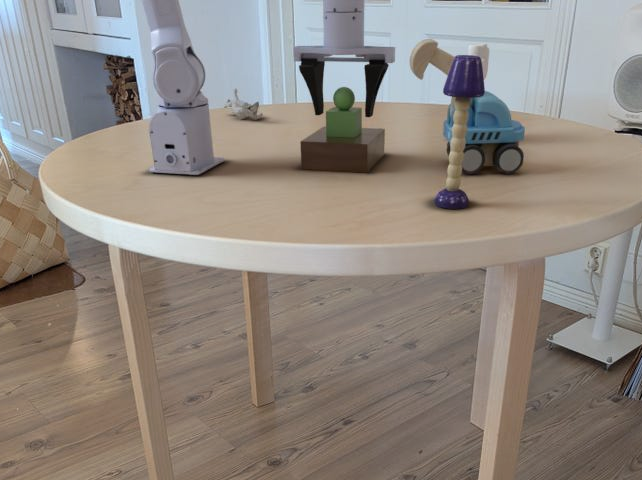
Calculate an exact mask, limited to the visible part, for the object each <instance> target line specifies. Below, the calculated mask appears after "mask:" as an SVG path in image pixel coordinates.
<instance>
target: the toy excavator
mask: <svg viewBox="0 0 642 480" xmlns="http://www.w3.org/2000/svg"><path fill="white" fill-rule="evenodd" d="M438 46H439V42H438V41H436V40H434V39H433V38H425V39H422V40H421V41H418V43H417V44H416V45H415V46H414V47H413V48H412V50H411V53H410V56H409V66H410V70H411V72H412V74H413V75H414V76H415V77H416V78H417V79H418V80H421V81H422V80H423V79H424V76H425V75H424V74H425V73H426V70H427V68H428V66H429V64H431V65H432V66H434V67H435V68H436V69H437V70H439V71H441V73H443V74H445V75H446V76H448V73H449V70H450V68H451V65H452V62H453V59H454V57H455V56H454V55H452V54H450V53H448V52H447V51H445V50H443V49H441V48H439V47H438ZM450 99H451V100H450V103H449V105H448V107H447V115H446V120H444V121H443V128H442V135H443V137H444V138H445V139H446V140H447V143H446V154H447V156H448V157H449V154H450V152H451V147H450V143H451V139H452V137H453V135H452V127H453V125H454V120H453V115H454V112H455V110H456V108H455V99H456V97H451V98H450ZM468 113H469V118H468V121H467V123H466V125H467V133H466V136H465V141H466V144H465V148H464V150H463V153H464V159H463V162H462V164H461V165H462V173H463V174H465V175H474V174H476V173H478V172H479V171H481V170H482V169H483V167H495V168H496V169H497V170H498V171H499V172H500V173H503V174H506V175H511V174H512V175H513V174H514V173H516V172H518V171H519V170H520V169H521V167H522V166H523V165H524V159H525V155H524V151H523V149H522V148H520V142H522V141H523V140H524V138H525V130H526V129H525V126H524V125H522V123H521V122H520V121H518V120H516V119H515V120H514V119H512V113H511V111H510V109H509V107H508V105H507V104H506V103H505V102H504V100H502V99H501V98H499V97H498V96H496V95H495V94H493V93H492V92H490V91H487V90H485V93H484V95H483V96H482V97H477V98H470V106H469V108H468Z"/></svg>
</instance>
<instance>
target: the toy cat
mask: <svg viewBox="0 0 642 480" xmlns="http://www.w3.org/2000/svg"><path fill="white" fill-rule="evenodd" d="M232 95H233V99H234V100H231V99H229V98H228V99H227V100H226V101H225V104H224V105H223V108H224V109H227V108H232V109H231V110H232V114H231V115H232V116H236V117H237V118H238V119H240V120H245V119H247V118H248V117H251V118H252V119H253V120H254V121H258V120H259V119H261V118H262V117H263V116H264V114H263V113H262V112H260V113H259V114H258V109H259V107H260V106H259V105H260V102H259V101H256V102H253V103H249V102H247V101H243V100H240V99H239V96H238V88H236V87H235V88H234V89H233V93H232Z"/></svg>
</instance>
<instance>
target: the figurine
mask: <svg viewBox="0 0 642 480" xmlns="http://www.w3.org/2000/svg"><path fill="white" fill-rule="evenodd" d="M467 51H468V52H467V53H468V55H473V56H479V57H480V58H481V61H482V69H483V78H484V80H486V78H487V75H488V70H489V59H490V48H489V47H488V43H483V44H482V43H479V44H476V43H475V44H470V45H468V50H467Z"/></svg>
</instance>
